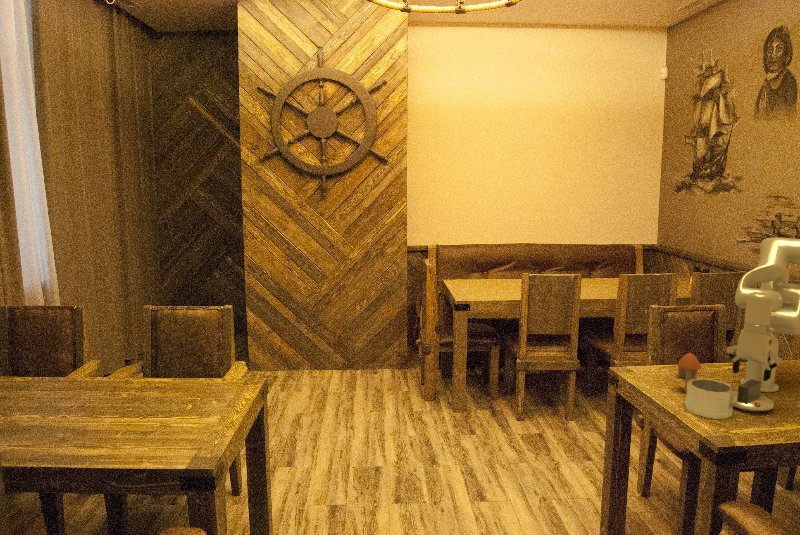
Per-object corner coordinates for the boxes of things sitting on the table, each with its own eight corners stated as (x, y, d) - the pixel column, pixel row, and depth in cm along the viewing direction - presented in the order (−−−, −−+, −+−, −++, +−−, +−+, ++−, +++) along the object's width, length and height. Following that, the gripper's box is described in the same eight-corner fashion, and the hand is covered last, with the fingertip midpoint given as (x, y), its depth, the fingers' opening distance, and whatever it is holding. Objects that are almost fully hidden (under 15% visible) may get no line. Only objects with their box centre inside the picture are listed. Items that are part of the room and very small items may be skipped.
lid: (733, 394, 222) (736, 373, 221) (779, 407, 211) (782, 385, 209) (715, 405, 213) (718, 382, 211) (762, 419, 201) (765, 395, 200)
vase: (698, 381, 236) (700, 359, 234) (679, 379, 237) (681, 358, 236) (693, 375, 242) (695, 354, 241) (675, 374, 244) (677, 353, 242)
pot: (696, 399, 217) (699, 375, 216) (738, 411, 207) (741, 386, 205) (678, 409, 208) (680, 384, 207) (720, 422, 198) (723, 396, 196)
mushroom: (672, 386, 230) (676, 348, 227) (695, 388, 228) (699, 350, 225) (677, 394, 222) (681, 355, 219) (701, 396, 220) (705, 356, 218)
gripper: (788, 332, 203) (782, 381, 205) (734, 322, 216) (729, 368, 218) (780, 335, 198) (774, 385, 200) (725, 324, 211) (720, 371, 213)
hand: (750, 376), depth 209 cm, fingers open, 9 cm apart
